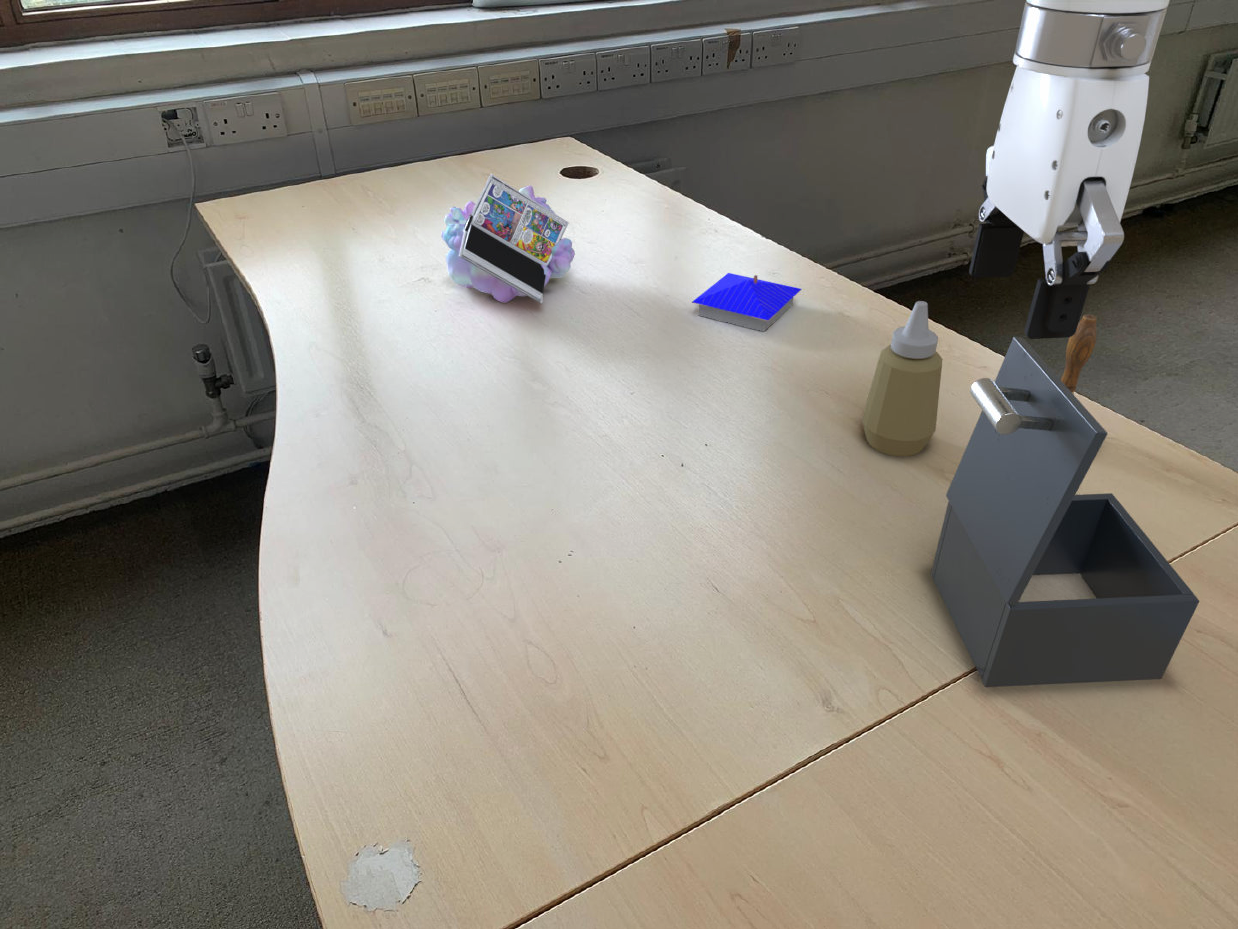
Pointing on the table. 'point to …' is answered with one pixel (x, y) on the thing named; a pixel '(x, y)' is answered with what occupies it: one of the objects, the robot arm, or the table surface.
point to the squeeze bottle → (905, 389)
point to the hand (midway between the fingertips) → (1017, 304)
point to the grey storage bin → (1070, 603)
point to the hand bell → (1079, 350)
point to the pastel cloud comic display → (506, 243)
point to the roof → (746, 301)
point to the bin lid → (1021, 466)
